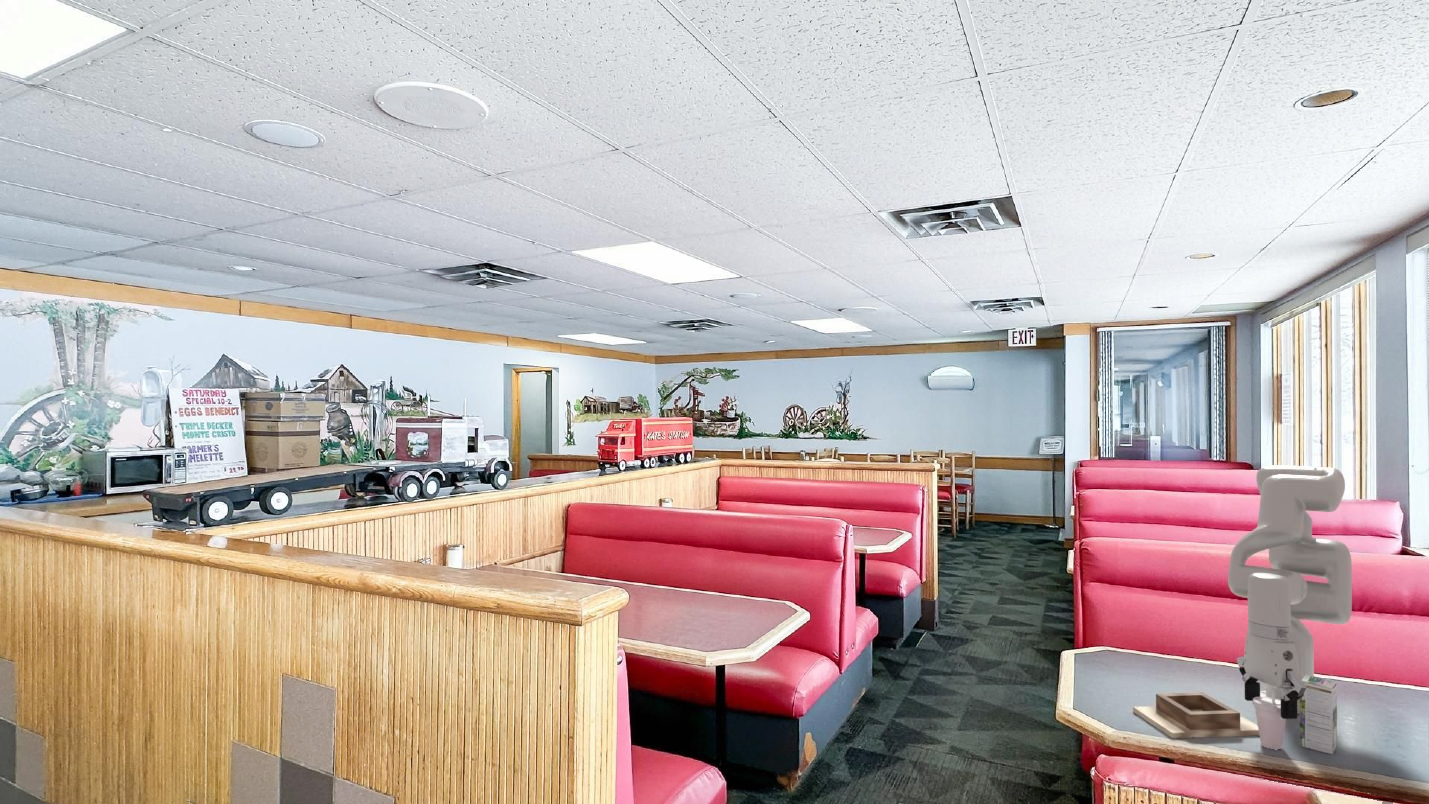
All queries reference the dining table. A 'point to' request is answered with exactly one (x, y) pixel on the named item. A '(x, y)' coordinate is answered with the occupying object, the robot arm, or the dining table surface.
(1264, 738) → the smoothie
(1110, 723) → the dining table surface
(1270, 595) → the robot arm
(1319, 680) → the syrup box
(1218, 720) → the socket stand
